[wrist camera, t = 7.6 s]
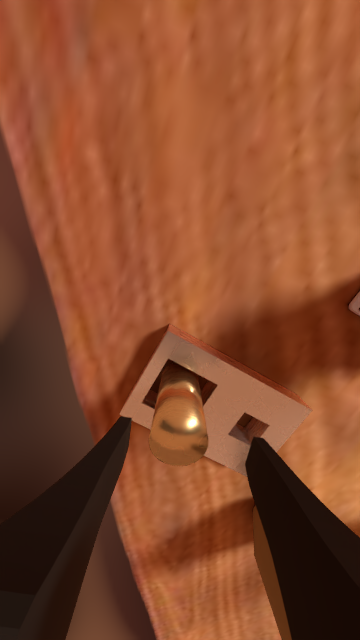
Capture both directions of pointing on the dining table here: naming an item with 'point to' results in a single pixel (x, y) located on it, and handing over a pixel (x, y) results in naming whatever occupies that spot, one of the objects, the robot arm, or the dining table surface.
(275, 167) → the dining table surface
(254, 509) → the squeeze bottle
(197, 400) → the brass fitting
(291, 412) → the plate
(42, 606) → the robot arm
